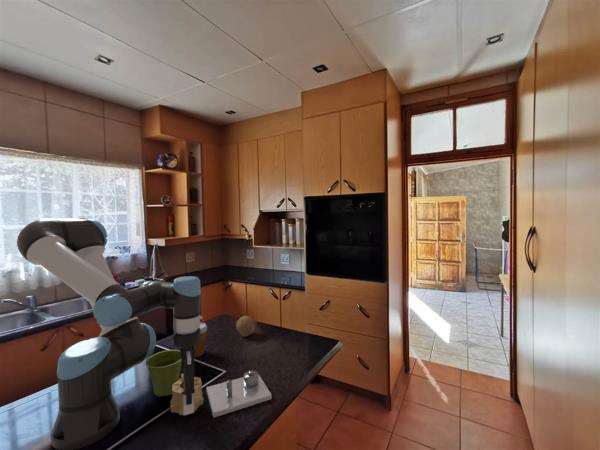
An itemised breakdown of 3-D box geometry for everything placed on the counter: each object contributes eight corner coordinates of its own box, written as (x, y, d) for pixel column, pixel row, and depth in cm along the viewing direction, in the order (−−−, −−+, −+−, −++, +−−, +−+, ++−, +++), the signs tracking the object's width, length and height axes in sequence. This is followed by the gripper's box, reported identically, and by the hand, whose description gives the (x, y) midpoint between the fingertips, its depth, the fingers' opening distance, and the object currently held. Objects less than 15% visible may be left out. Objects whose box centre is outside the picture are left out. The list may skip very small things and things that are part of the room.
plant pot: (138, 400, 90) (137, 366, 89) (161, 379, 101) (160, 349, 101) (172, 403, 88) (171, 368, 88) (192, 381, 100) (191, 350, 99)
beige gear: (171, 418, 78) (171, 397, 78) (170, 399, 86) (170, 380, 86) (204, 408, 82) (204, 388, 82) (201, 391, 90) (200, 373, 90)
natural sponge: (236, 333, 142) (236, 313, 142) (254, 331, 144) (254, 312, 143) (236, 340, 133) (235, 319, 133) (255, 338, 135) (254, 318, 134)
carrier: (213, 417, 81) (212, 397, 81) (206, 391, 94) (206, 373, 94) (271, 399, 89) (271, 380, 89) (257, 377, 102) (257, 360, 102)
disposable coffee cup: (179, 357, 118) (178, 329, 117) (194, 347, 127) (194, 321, 126) (198, 360, 114) (197, 331, 114) (212, 350, 123) (211, 323, 123)
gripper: (205, 341, 75) (205, 423, 76) (196, 315, 95) (196, 380, 95) (175, 347, 72) (175, 432, 73) (172, 319, 91) (172, 386, 92)
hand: (187, 403), depth 84 cm, fingers closed on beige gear, 9 cm apart
